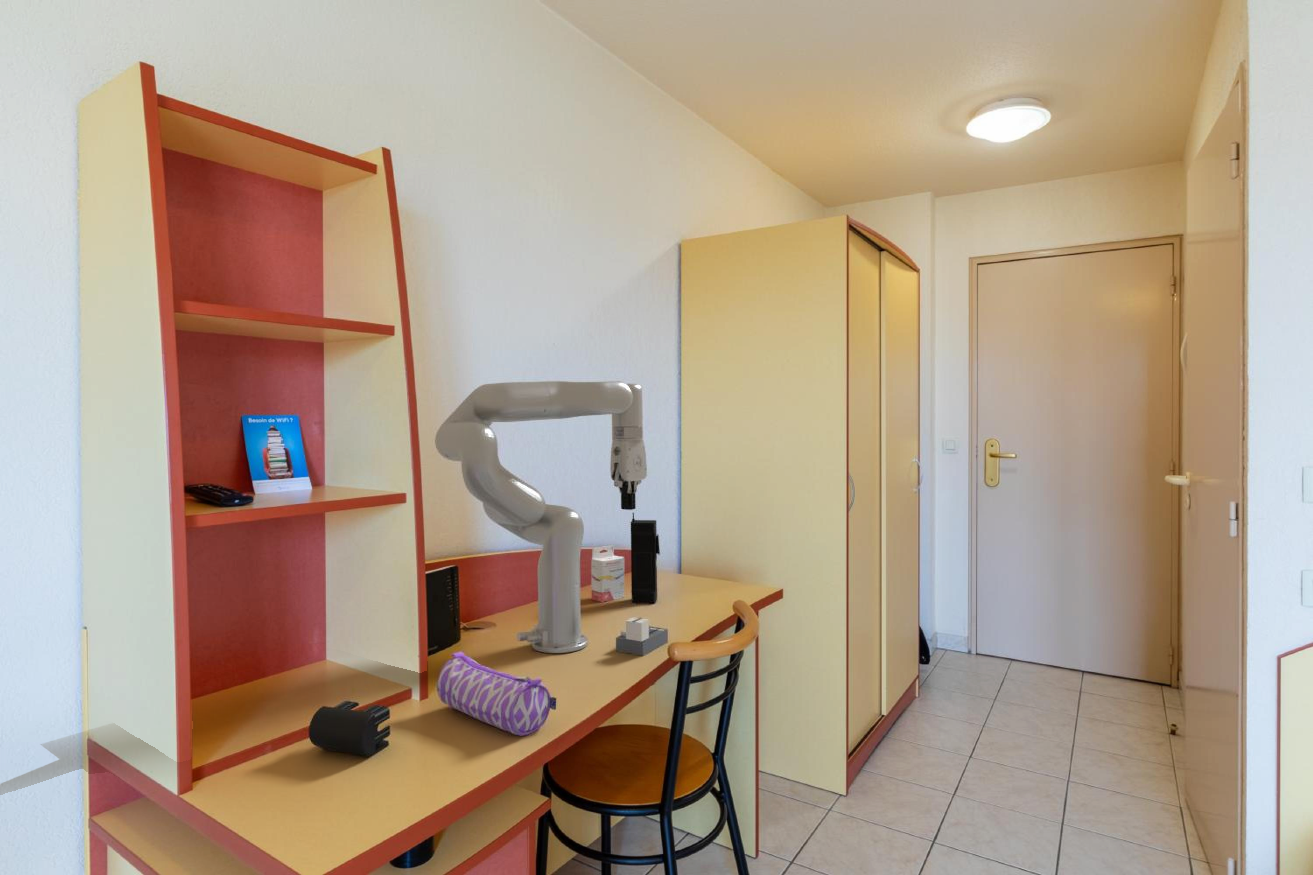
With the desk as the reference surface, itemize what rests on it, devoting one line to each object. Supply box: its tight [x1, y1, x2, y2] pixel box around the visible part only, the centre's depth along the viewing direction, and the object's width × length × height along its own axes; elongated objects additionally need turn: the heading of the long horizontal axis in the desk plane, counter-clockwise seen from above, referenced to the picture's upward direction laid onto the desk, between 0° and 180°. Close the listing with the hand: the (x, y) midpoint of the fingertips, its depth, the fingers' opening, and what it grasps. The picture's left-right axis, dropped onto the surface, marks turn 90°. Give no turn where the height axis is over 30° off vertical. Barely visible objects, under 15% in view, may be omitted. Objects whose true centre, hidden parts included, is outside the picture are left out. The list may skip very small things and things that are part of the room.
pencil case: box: [436, 651, 557, 737], centre depth 124 cm, size 22×9×10 cm, turn 54°
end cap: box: [308, 700, 391, 758], centre depth 113 cm, size 10×7×7 cm
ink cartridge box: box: [590, 544, 625, 603], centre depth 206 cm, size 9×5×15 cm, turn 133°
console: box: [615, 625, 669, 657], centre depth 163 cm, size 11×7×4 cm, turn 150°
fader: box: [625, 616, 650, 642], centre depth 158 cm, size 3×4×4 cm
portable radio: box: [630, 512, 661, 605], centre depth 203 cm, size 8×6×25 cm
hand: (628, 509), depth 177 cm, fingers closed
